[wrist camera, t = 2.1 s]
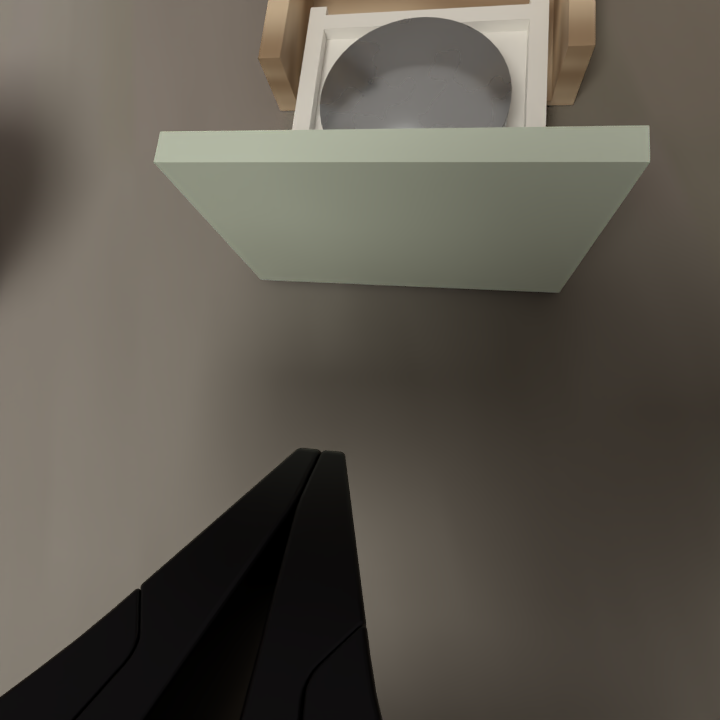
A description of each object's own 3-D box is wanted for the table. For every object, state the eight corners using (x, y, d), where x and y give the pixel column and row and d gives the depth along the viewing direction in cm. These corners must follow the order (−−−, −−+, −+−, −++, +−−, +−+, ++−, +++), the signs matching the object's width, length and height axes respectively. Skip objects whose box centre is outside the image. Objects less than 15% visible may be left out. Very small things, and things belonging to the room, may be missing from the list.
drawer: (559, 292, 20) (650, 161, 11) (260, 279, 22) (153, 162, 14) (564, 22, 23) (640, -241, 14) (299, 35, 25) (230, -187, 16)
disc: (393, 237, 20) (390, 218, 19) (295, 116, 23) (285, 91, 21) (545, 128, 21) (554, 101, 19) (433, 18, 23) (432, -15, 21)
